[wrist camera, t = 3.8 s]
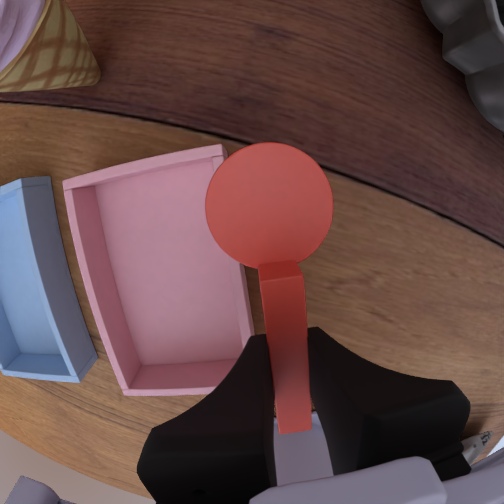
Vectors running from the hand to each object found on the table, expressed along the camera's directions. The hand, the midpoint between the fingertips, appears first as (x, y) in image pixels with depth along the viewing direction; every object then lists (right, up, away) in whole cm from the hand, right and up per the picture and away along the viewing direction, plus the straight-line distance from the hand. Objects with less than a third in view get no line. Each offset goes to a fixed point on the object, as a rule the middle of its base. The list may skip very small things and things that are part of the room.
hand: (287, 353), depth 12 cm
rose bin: (-6, +3, +8) cm, 11 cm away
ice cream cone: (-12, +16, +5) cm, 20 cm away
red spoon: (0, +2, +1) cm, 3 cm away
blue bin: (-19, +2, +8) cm, 21 cm away
